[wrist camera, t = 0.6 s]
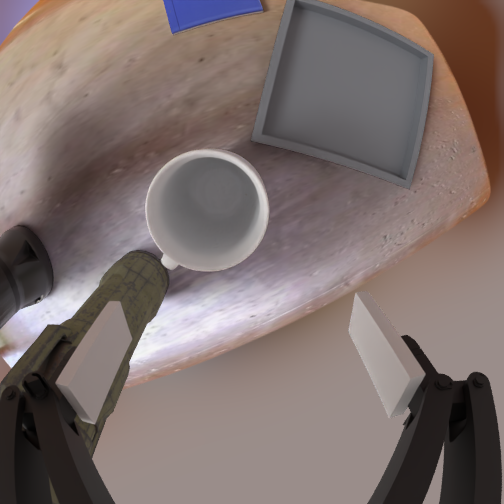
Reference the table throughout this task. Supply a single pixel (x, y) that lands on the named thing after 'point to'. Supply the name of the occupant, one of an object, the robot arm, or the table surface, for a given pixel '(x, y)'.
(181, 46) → the table surface
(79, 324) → the thermos
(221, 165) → the mug
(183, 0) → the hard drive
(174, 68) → the table surface
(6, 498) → the robot arm
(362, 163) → the tray
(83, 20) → the table surface
